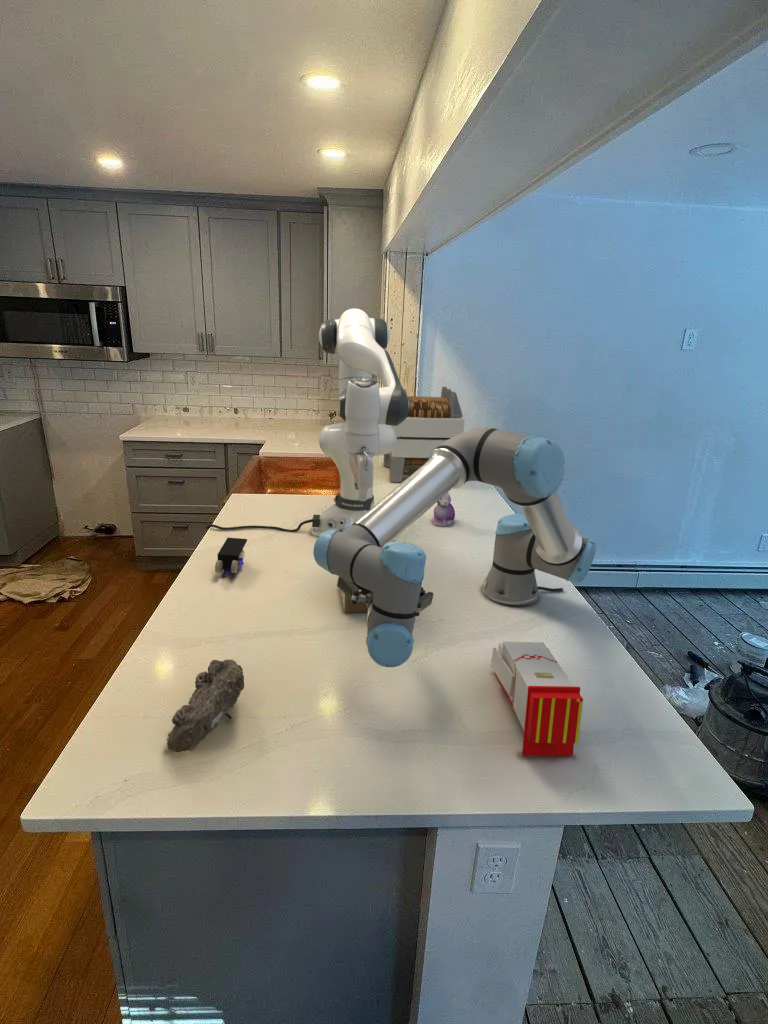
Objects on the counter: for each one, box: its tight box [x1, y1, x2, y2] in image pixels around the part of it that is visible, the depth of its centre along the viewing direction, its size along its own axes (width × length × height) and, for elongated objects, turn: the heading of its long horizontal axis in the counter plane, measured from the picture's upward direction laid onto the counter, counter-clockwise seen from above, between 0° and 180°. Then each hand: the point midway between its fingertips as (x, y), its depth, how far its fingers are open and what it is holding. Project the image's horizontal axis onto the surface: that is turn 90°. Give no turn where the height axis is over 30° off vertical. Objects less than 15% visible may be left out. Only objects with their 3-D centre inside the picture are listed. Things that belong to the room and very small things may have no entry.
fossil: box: [166, 658, 245, 754], centre depth 106 cm, size 22×10×15 cm
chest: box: [339, 589, 367, 614], centre depth 152 cm, size 13×10×11 cm
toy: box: [490, 641, 584, 757], centre depth 113 cm, size 12×13×30 cm
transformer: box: [383, 386, 465, 483], centre depth 268 cm, size 34×33×41 cm
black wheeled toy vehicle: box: [214, 537, 248, 578], centre depth 166 cm, size 7×8×15 cm
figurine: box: [432, 491, 456, 527], centre depth 210 cm, size 9×10×15 cm
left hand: (360, 494), depth 149 cm, fingers open, 8 cm apart
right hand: (384, 577), depth 126 cm, fingers open, 13 cm apart
